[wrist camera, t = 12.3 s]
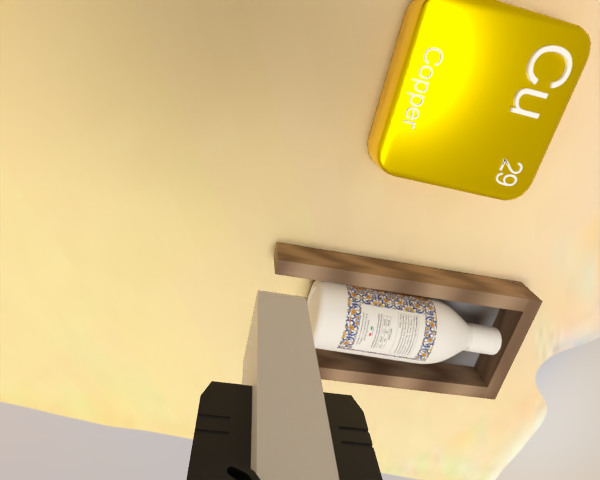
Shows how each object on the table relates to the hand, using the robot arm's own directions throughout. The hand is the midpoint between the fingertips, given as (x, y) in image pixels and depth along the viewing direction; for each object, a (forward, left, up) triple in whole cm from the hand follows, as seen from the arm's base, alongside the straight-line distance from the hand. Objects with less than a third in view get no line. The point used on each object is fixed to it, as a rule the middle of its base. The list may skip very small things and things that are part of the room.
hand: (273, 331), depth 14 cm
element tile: (+17, +7, -30) cm, 35 cm away
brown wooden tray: (+17, -16, -29) cm, 37 cm away
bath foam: (+7, -14, -25) cm, 30 cm away
